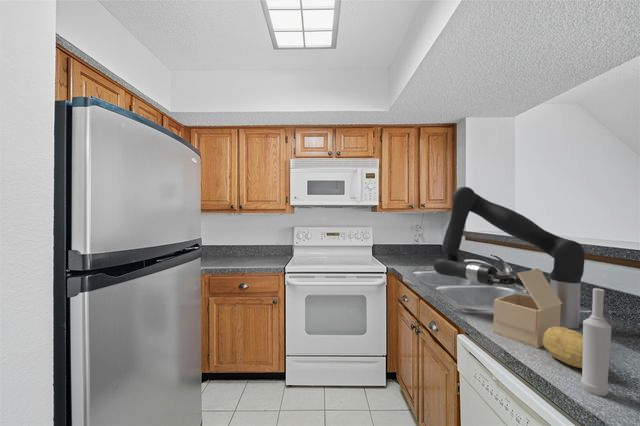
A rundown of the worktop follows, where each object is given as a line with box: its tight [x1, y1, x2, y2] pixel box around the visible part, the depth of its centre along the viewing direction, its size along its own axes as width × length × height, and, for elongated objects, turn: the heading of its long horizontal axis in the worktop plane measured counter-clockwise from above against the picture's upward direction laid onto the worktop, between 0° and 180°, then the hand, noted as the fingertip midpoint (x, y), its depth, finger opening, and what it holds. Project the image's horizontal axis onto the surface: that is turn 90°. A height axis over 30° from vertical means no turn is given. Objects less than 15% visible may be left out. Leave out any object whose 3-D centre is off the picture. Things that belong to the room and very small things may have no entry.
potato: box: [542, 327, 583, 369], centre depth 88 cm, size 10×14×10 cm
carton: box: [492, 293, 561, 349], centre depth 107 cm, size 17×14×12 cm
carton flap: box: [516, 268, 563, 311], centre depth 104 cm, size 15×13×1 cm
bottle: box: [580, 287, 612, 397], centre depth 75 cm, size 5×5×25 cm
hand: (529, 283), depth 106 cm, fingers closed
